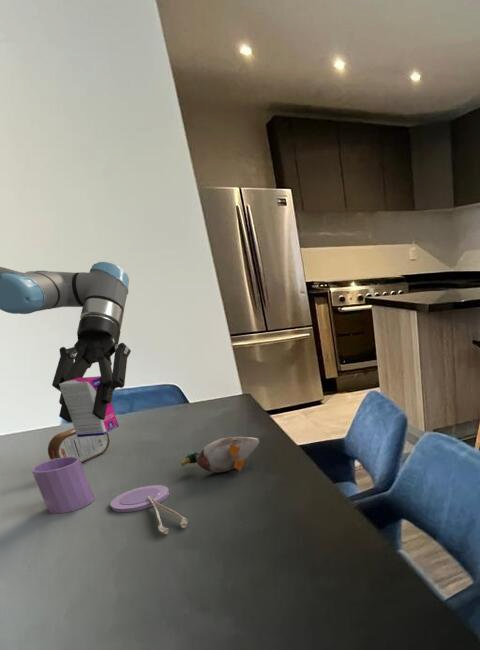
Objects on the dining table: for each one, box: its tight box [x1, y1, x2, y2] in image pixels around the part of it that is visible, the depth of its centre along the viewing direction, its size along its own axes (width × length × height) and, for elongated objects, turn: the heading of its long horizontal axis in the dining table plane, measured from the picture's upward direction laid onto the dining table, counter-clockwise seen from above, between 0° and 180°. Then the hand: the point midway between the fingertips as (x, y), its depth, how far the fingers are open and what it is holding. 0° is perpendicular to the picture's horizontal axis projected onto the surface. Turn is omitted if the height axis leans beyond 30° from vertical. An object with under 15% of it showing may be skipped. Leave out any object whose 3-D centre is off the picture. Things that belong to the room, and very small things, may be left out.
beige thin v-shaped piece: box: [147, 496, 188, 535], centre depth 93 cm, size 17×5×2 cm, turn 43°
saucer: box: [110, 484, 170, 513], centre depth 100 cm, size 10×10×1 cm
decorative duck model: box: [180, 435, 260, 473], centre depth 113 cm, size 15×8×15 cm
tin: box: [47, 427, 110, 464], centre depth 123 cm, size 15×3×8 cm, turn 168°
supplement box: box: [59, 375, 120, 437], centre depth 103 cm, size 6×6×12 cm
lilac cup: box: [30, 456, 95, 514], centre depth 99 cm, size 8×8×9 cm
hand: (82, 417), depth 100 cm, fingers closed on supplement box, 6 cm apart
